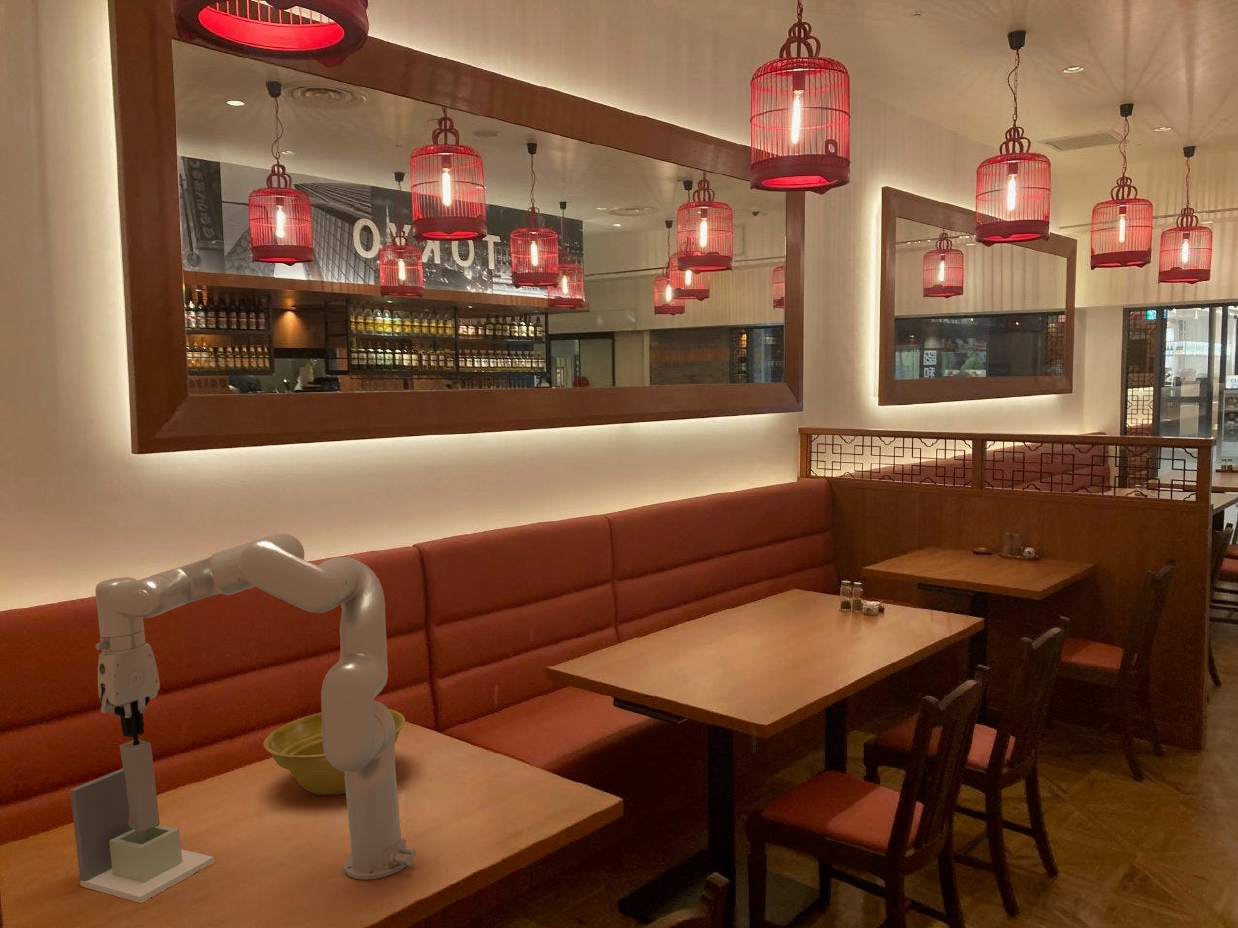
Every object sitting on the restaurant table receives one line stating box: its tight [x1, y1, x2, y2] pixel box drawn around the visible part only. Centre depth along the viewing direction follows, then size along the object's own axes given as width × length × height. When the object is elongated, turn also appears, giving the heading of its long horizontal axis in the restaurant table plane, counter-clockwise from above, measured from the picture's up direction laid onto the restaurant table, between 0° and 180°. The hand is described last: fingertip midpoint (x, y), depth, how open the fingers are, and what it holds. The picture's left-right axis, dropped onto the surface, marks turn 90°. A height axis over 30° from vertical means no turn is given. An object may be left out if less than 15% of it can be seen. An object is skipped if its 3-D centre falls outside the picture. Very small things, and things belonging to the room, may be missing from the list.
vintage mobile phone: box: [119, 702, 161, 833], centre depth 182 cm, size 4×5×25 cm
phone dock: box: [69, 767, 215, 904], centre depth 182 cm, size 18×16×19 cm
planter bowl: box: [263, 708, 406, 796], centre depth 222 cm, size 32×32×13 cm
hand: (133, 734), depth 181 cm, fingers closed on vintage mobile phone, 1 cm apart
